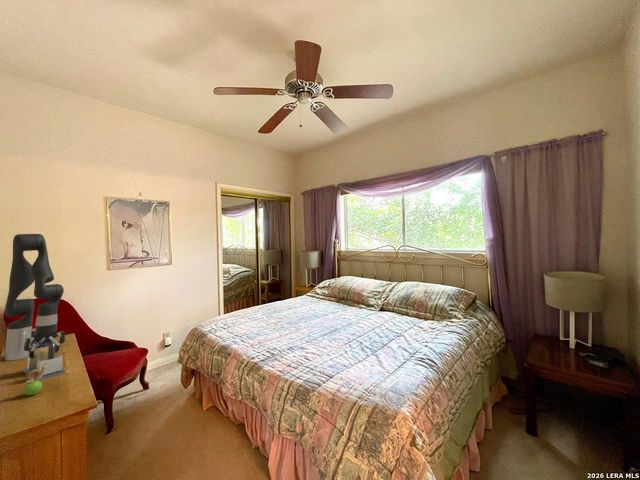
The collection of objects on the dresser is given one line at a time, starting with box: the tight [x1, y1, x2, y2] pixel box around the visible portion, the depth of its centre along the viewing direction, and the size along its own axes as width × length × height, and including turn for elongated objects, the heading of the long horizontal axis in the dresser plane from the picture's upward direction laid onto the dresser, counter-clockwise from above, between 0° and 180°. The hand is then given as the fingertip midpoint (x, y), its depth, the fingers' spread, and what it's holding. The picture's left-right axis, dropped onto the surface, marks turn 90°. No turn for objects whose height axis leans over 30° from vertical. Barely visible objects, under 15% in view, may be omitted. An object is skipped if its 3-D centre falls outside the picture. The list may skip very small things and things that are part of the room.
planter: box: [30, 327, 52, 349], centre depth 163 cm, size 11×11×11 cm
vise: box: [22, 352, 66, 381], centre depth 128 cm, size 18×10×8 cm, turn 62°
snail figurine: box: [22, 362, 47, 396], centre depth 109 cm, size 5×6×12 cm
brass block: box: [35, 345, 49, 369], centre depth 129 cm, size 4×6×10 cm, turn 62°
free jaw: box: [37, 342, 64, 375], centre depth 125 cm, size 4×8×14 cm, turn 152°
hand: (44, 355), depth 130 cm, fingers open, 8 cm apart
